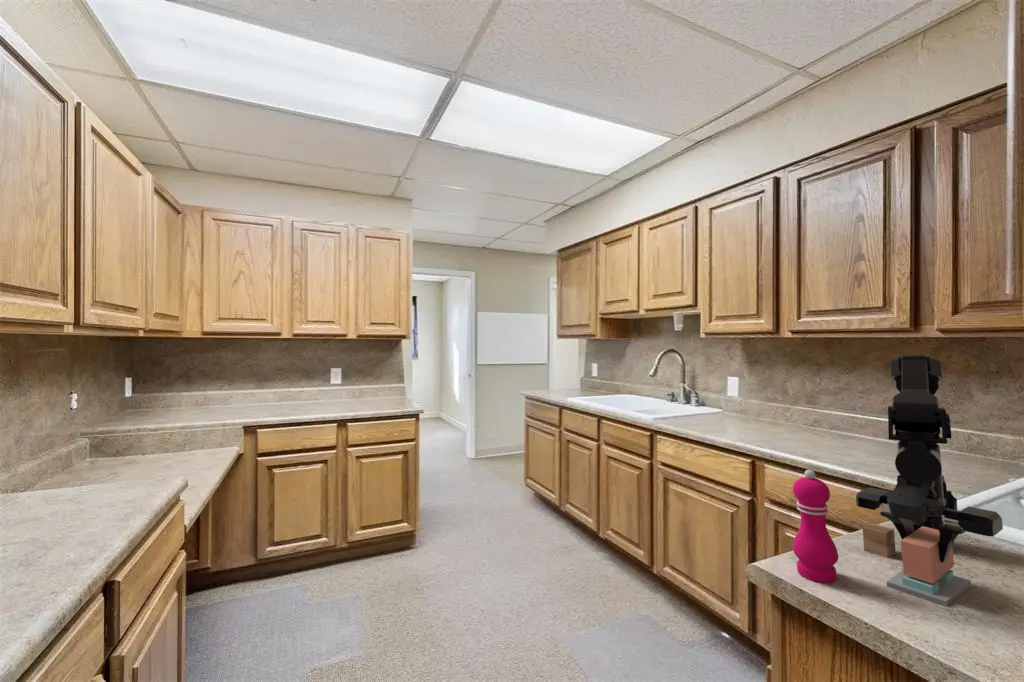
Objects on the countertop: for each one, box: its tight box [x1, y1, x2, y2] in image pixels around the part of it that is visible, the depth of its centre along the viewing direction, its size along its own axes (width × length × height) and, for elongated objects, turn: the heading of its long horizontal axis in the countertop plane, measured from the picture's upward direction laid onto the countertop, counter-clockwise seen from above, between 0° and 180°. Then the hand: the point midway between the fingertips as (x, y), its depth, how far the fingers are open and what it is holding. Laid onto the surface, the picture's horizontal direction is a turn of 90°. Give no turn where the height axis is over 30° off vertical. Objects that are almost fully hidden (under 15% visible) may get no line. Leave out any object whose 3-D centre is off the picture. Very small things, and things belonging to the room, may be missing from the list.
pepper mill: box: [792, 469, 839, 584], centre depth 85 cm, size 7×7×20 cm
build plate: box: [886, 569, 972, 607], centre depth 80 cm, size 12×8×2 cm, turn 120°
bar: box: [900, 526, 955, 584], centre depth 80 cm, size 10×4×6 cm, turn 120°
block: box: [862, 522, 896, 559], centre depth 93 cm, size 4×4×5 cm
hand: (926, 557), depth 80 cm, fingers closed on bar, 4 cm apart
